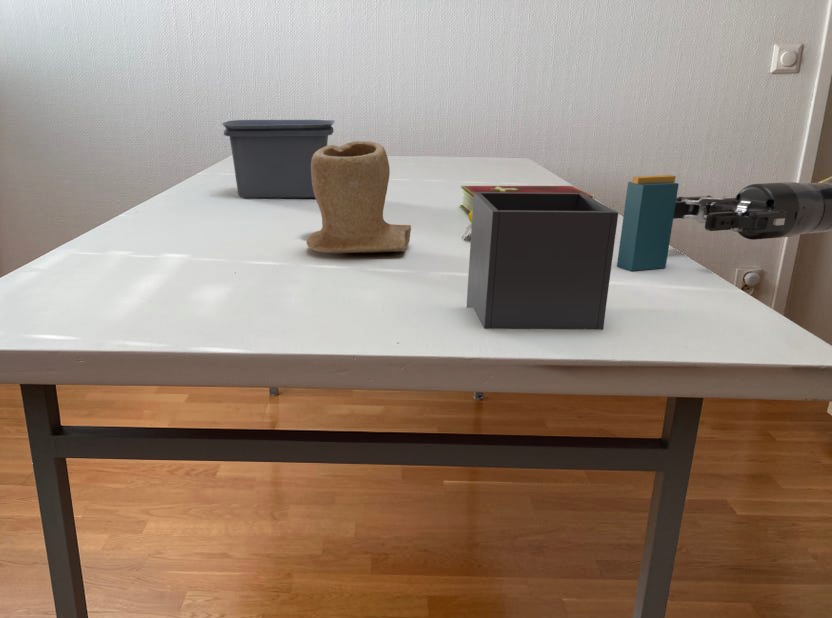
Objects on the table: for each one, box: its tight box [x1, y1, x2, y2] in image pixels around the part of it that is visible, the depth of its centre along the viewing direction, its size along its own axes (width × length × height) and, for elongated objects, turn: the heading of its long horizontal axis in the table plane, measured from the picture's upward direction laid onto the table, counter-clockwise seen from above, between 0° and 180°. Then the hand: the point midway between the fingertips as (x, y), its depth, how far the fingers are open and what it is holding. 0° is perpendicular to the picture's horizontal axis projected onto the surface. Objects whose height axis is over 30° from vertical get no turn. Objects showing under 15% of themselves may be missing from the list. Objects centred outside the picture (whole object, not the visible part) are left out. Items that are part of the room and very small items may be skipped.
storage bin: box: [221, 119, 335, 199], centre depth 154 cm, size 21×16×14 cm
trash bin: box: [465, 192, 619, 331], centre depth 76 cm, size 11×11×13 cm
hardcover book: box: [459, 185, 596, 216], centre depth 139 cm, size 12×21×4 cm, turn 94°
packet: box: [616, 174, 680, 272], centre depth 101 cm, size 6×3×12 cm, turn 110°
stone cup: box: [305, 140, 412, 254], centre depth 106 cm, size 15×12×15 cm
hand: (683, 216), depth 102 cm, fingers open, 8 cm apart
